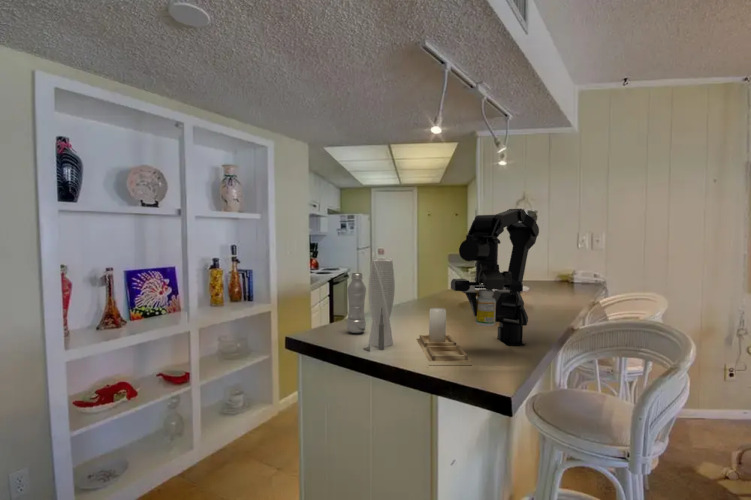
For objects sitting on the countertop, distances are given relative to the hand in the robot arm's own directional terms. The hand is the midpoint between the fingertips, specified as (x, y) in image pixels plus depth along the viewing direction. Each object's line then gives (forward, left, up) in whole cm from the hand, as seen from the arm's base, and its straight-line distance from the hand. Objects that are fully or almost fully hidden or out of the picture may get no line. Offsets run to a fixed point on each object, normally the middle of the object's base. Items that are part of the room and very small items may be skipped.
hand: (485, 316), depth 110 cm
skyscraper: (+29, -5, -11) cm, 31 cm away
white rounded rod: (+12, -7, -10) cm, 17 cm away
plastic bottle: (+36, -24, -11) cm, 45 cm away
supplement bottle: (0, 0, -2) cm, 2 cm away
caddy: (+12, -1, -11) cm, 16 cm away
